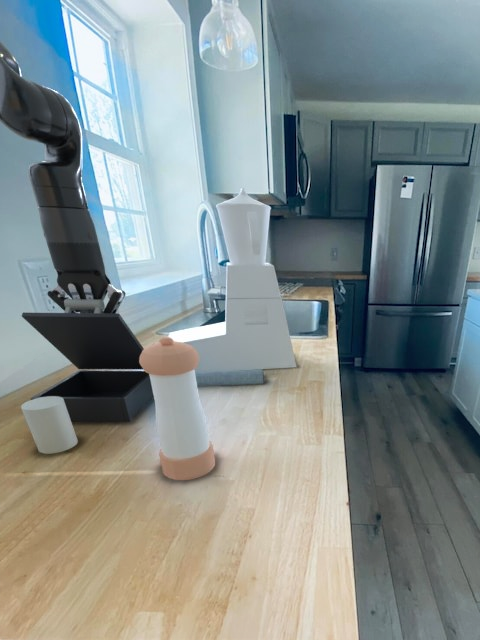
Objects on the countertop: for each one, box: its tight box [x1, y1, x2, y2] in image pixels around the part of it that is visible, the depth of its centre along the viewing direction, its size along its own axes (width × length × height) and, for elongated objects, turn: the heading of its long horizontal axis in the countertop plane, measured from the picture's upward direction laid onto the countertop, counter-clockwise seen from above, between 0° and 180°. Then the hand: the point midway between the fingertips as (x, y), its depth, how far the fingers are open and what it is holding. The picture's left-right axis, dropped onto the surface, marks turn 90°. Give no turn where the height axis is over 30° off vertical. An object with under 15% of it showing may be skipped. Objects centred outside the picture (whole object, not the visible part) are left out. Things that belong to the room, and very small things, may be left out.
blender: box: [167, 188, 297, 372], centre depth 90 cm, size 33×18×40 cm, turn 104°
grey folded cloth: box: [195, 369, 265, 387], centre depth 84 cm, size 23×7×3 cm, turn 101°
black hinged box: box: [30, 369, 154, 423], centre depth 71 cm, size 16×16×5 cm
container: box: [20, 396, 79, 455], centre depth 56 cm, size 5×5×8 cm
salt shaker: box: [139, 336, 216, 481], centre depth 49 cm, size 7×7×19 cm
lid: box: [21, 298, 145, 370], centre depth 69 cm, size 16×16×6 cm
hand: (100, 342), depth 70 cm, fingers closed
